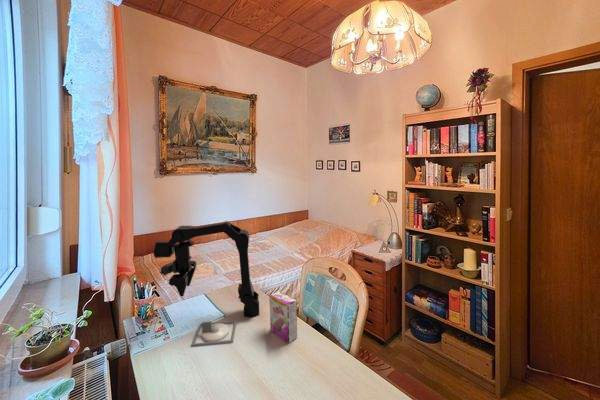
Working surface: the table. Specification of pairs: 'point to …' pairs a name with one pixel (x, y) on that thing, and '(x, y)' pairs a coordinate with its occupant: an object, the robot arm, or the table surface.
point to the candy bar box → (283, 316)
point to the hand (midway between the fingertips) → (185, 290)
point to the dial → (214, 331)
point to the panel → (215, 341)
